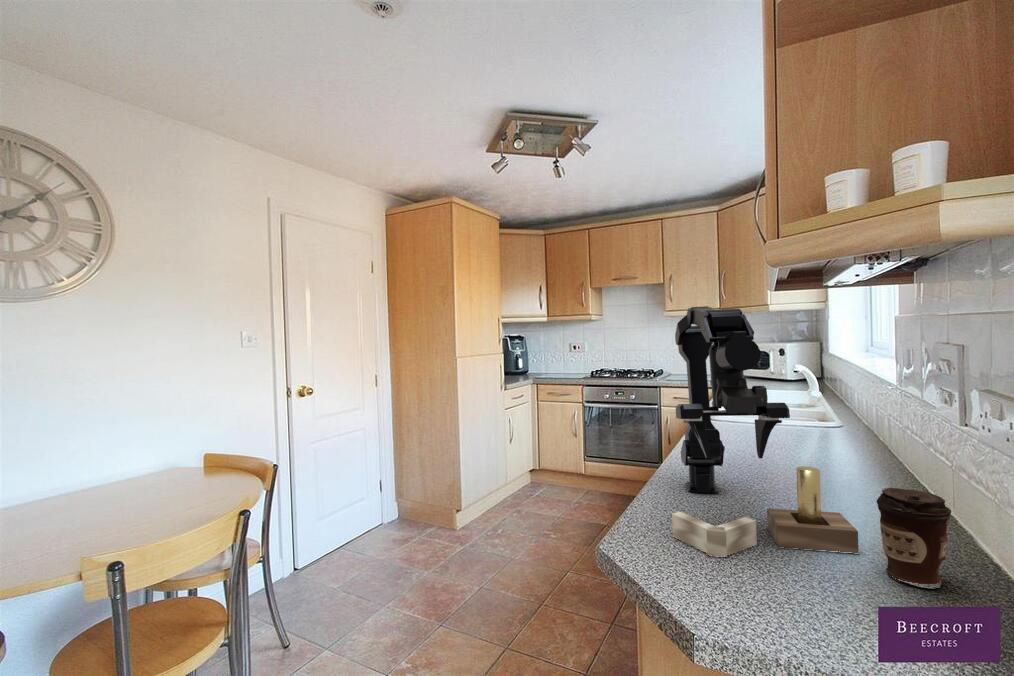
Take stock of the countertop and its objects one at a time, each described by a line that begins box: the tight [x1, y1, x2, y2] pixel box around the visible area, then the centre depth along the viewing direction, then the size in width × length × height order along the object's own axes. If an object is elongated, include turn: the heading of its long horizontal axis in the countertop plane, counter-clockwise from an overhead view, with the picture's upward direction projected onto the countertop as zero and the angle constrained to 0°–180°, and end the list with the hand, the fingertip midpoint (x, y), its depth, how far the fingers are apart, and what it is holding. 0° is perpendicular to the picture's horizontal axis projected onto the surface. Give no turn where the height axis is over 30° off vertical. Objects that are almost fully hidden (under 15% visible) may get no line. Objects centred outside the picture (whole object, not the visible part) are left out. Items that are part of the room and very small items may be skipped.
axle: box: [795, 466, 822, 525], centre depth 85 cm, size 4×4×13 cm
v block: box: [671, 511, 758, 558], centre depth 84 cm, size 8×14×4 cm, turn 71°
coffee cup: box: [876, 487, 952, 584], centre depth 71 cm, size 9×8×13 cm
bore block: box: [766, 507, 860, 553], centre depth 85 cm, size 8×12×4 cm, turn 73°
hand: (733, 458), depth 87 cm, fingers open, 9 cm apart
